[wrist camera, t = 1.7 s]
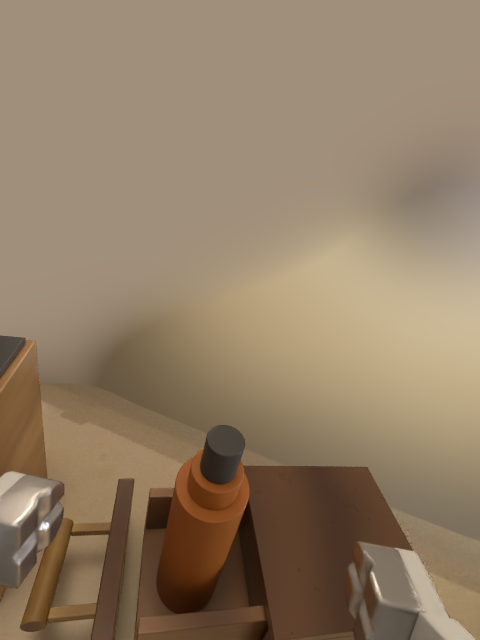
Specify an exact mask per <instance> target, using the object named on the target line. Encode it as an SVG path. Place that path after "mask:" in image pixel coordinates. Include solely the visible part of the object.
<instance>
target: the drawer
mask: <svg viewBox="0 0 480 640" xmlns="http://www.w3.org/2000/svg"><path fill="white" fill-rule="evenodd" d="M133 488H134V479H119V482H118V487H117V493H116V499H115V504H114V510H113V516H112V521H111V523H82V524H74V522H73V521H72V520H71V519H68V518H63V519H62V523H61V526H60V528H59V530H58V532H57V534H56V536H55V538H54V539H53V541H52V542H51V544H50V545H49V546H48V547H47V548H45V551H44V554H43V557H42V560H41V563H40V566H39V569H38V572H37V575H36V579H35V582H34V585H33V588H32V591H31V594H30V597H29V600H28V603H27V606H26V610H25V613H24V616H23V619H22V622H21V625H20V629H21V630H23V631H27V632H34V631H39V630H42V629H44V628H45V627H46V625H47V621H48V623H53V622H63V621H73V620H84V619H94V623H93V629H92V634H91V640H114V639H115V632H116V624H117V616H118V609H119V601H120V593H121V586H122V578H123V570H124V562H125V555H126V547H127V539H128V532H129V524H130V516H131V506H132V497H133ZM173 492H174V488H151V489H150V493H149V500H148V506H147V513H146V520H145V528H144V539H143V549H142V560H141V571H140V582H139V593H138V604H137V615H136V626H135V637H134V640H262V639H263V638H264V636H265V634H266V633H267V631H268V630H269V629H268V623H267V617H266V612H265V606H264V600H263V595H262V589H261V583H260V577H259V572H258V566H257V560H256V555H255V549H254V543H253V538H252V532H251V526H250V520H249V515H248V509H247V505H246V508H245V510H244V513H243V516H242V518H241V521H240V524H239V526H238V529H237V531H236V534H235V537H234V539H233V542H232V545H231V547H230V550H229V553H228V555H227V558H226V561H225V563H224V566H223V568H222V571H221V574H220V576H219V579H218V582H217V584H216V587H215V590H214V592H213V595H212V597H211V598H210V600H209V602H208V603H207V604H206V605H205V606H204V607H203V608H202V609H200V610H199V611H197V612H192V613H182V614H177V613H174V612H172V611H171V610H169V609H168V608H167V607H166V606H165V605H164V604H163V602H162V601H161V599H160V597H159V594H158V591H157V585H156V578H157V572H158V567H159V562H160V557H161V552H162V547H163V542H164V537H165V532H166V527H167V522H168V517H169V512H170V507H171V502H172V497H173ZM106 534H109V538H108V544H107V549H106V555H105V561H104V566H103V572H102V578H101V583H100V589H99V595H98V600H97V603H95V604H83V605H72V606H60V607H51V606H52V602H53V599H54V595H55V591H56V588H57V584H58V580H59V577H60V573H61V569H62V565H63V562H64V558H65V554H66V551H67V547H68V543H69V540H70V536H81V535H106Z"/></svg>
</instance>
